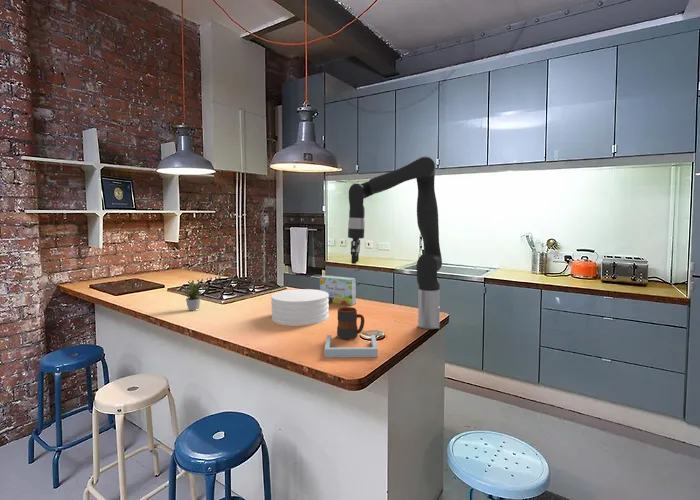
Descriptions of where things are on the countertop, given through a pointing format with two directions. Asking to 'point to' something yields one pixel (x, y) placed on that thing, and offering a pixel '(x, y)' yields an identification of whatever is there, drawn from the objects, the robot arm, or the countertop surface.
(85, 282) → the countertop surface
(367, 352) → the dock bay
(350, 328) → the mug
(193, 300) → the house plant
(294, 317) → the plate stack
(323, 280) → the snack box
